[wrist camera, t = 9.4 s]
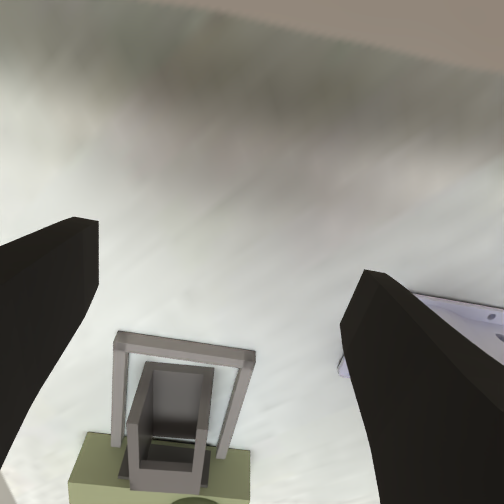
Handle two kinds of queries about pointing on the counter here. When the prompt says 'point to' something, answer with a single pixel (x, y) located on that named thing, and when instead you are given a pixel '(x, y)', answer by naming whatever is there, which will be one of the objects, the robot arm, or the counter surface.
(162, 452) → the grey frame stand
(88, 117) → the counter surface
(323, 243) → the counter surface
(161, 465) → the chute
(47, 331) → the robot arm
